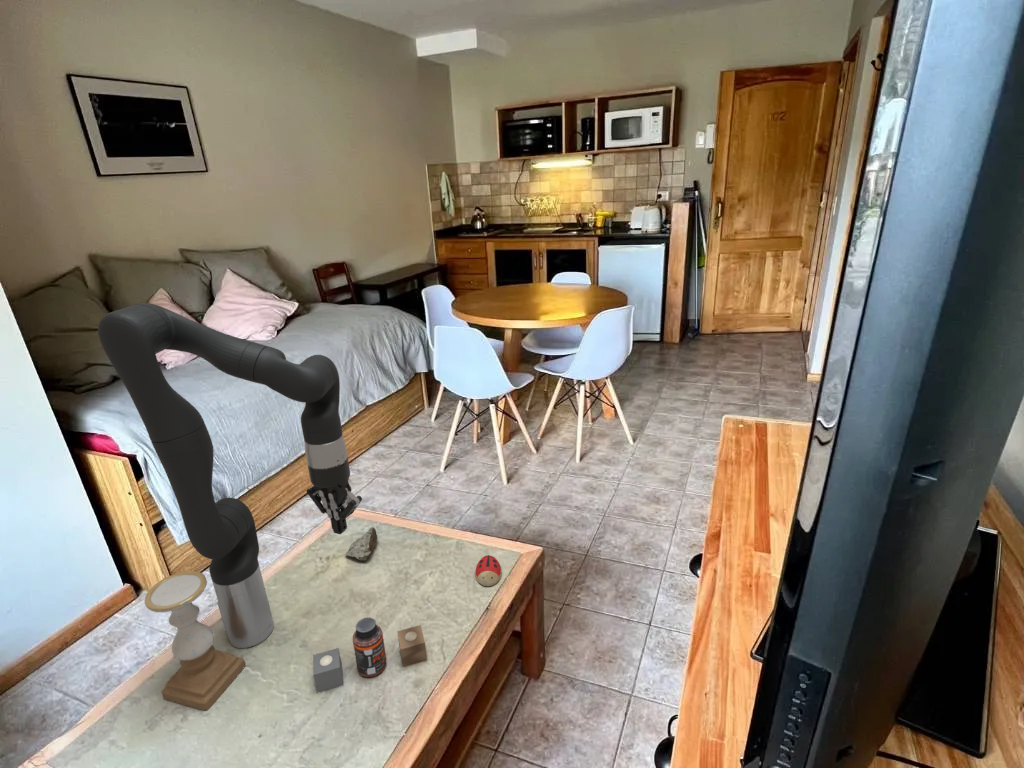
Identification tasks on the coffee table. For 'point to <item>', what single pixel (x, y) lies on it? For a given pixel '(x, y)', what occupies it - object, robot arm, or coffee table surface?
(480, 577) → the ladybug figurine
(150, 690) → the coffee table surface
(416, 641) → the walnut dotted block
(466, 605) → the coffee table surface
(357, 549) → the rock sample
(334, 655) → the charcoal dotted block
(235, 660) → the candle holder
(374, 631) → the supplement bottle
